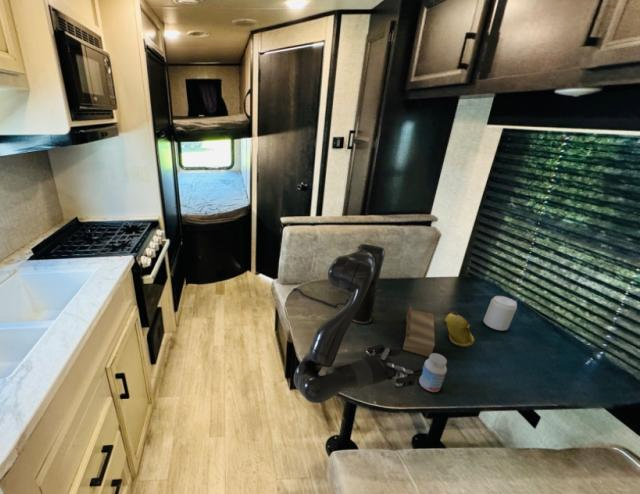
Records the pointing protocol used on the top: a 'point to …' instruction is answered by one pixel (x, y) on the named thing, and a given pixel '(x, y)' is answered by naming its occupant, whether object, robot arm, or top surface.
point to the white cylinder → (500, 313)
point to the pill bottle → (433, 372)
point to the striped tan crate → (419, 332)
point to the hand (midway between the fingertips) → (410, 360)
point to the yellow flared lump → (459, 330)
